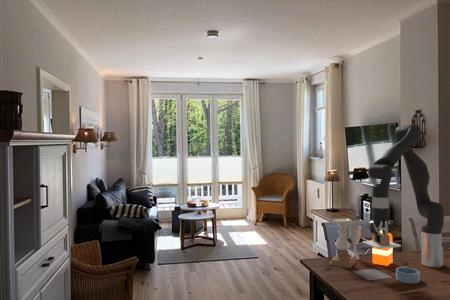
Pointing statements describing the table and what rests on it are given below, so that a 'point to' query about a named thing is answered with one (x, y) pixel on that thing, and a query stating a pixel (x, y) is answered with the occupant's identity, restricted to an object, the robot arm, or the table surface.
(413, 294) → the table surface
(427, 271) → the table surface
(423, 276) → the table surface
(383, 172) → the robot arm
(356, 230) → the chalice
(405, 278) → the bowl
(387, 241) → the square lid with handle
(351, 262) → the candle holder
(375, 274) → the mat
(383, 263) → the orange juice
